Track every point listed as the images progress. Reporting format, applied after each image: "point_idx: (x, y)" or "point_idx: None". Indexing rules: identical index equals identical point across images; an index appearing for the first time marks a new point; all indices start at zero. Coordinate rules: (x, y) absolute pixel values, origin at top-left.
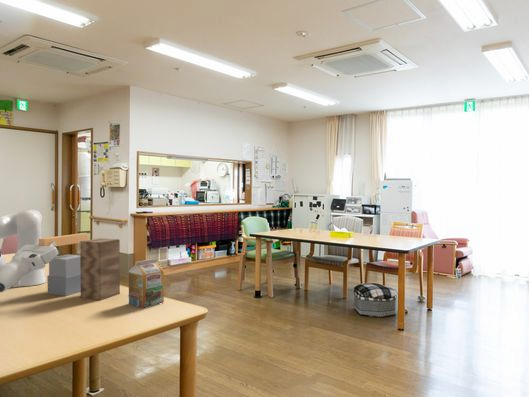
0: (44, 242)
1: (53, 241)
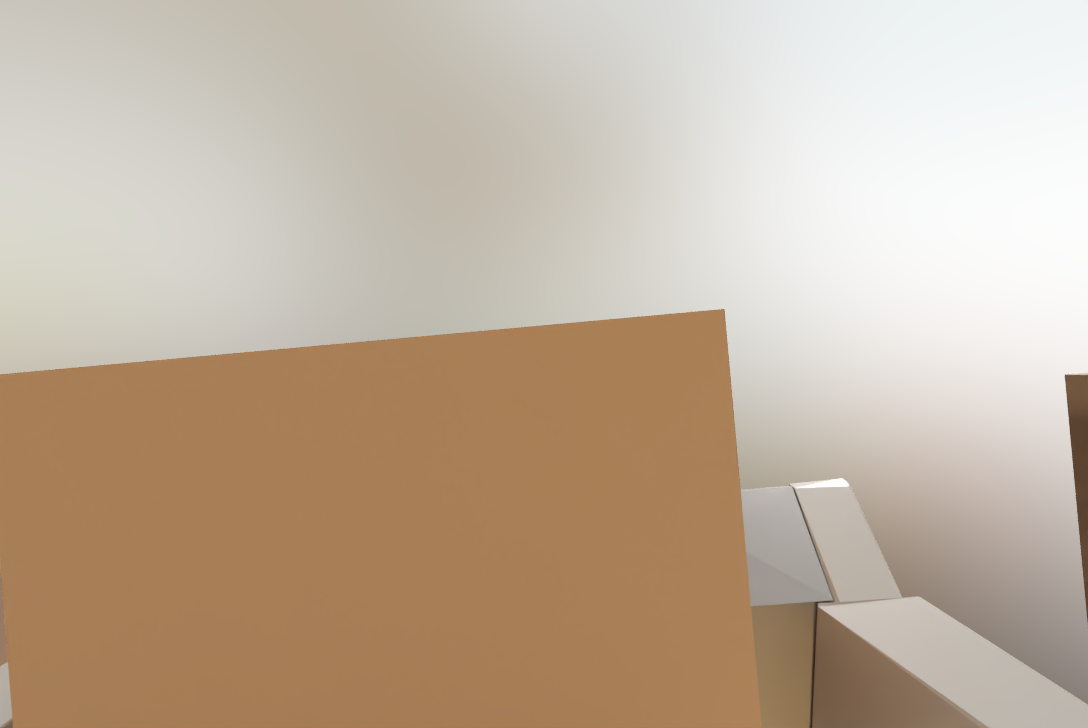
0: (702, 599)
1: (771, 487)
